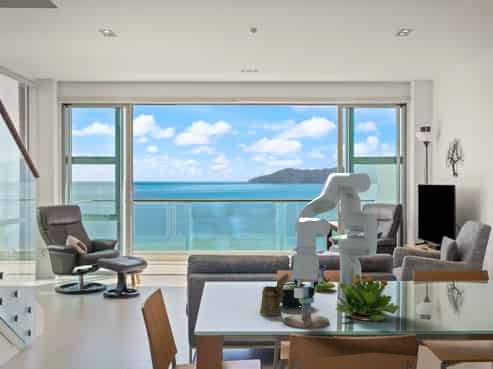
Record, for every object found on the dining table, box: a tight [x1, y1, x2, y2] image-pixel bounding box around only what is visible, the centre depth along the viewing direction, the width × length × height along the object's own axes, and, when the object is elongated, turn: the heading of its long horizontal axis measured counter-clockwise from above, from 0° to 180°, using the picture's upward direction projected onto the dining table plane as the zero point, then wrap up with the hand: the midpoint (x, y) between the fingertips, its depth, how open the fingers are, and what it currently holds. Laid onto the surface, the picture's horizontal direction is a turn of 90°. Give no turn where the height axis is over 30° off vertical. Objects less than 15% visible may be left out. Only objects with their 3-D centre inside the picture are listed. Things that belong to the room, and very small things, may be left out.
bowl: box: [274, 282, 310, 308], centre depth 270 cm, size 17×17×10 cm
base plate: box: [283, 303, 330, 329], centre depth 239 cm, size 18×18×8 cm
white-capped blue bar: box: [294, 283, 318, 304], centre depth 239 cm, size 14×6×6 cm, turn 148°
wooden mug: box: [259, 273, 290, 316], centre depth 253 cm, size 9×14×18 cm, turn 49°
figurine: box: [317, 259, 336, 292], centre depth 308 cm, size 14×13×15 cm
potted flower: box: [335, 273, 400, 322], centre depth 248 cm, size 25×24×18 cm
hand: (306, 296), depth 239 cm, fingers closed on white-capped blue bar, 3 cm apart
